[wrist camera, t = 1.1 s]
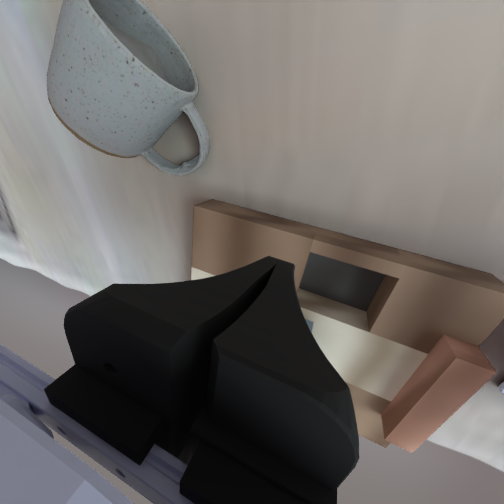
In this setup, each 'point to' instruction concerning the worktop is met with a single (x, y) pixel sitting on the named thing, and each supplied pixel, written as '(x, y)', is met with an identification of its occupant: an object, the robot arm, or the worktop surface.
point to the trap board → (371, 315)
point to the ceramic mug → (121, 80)
